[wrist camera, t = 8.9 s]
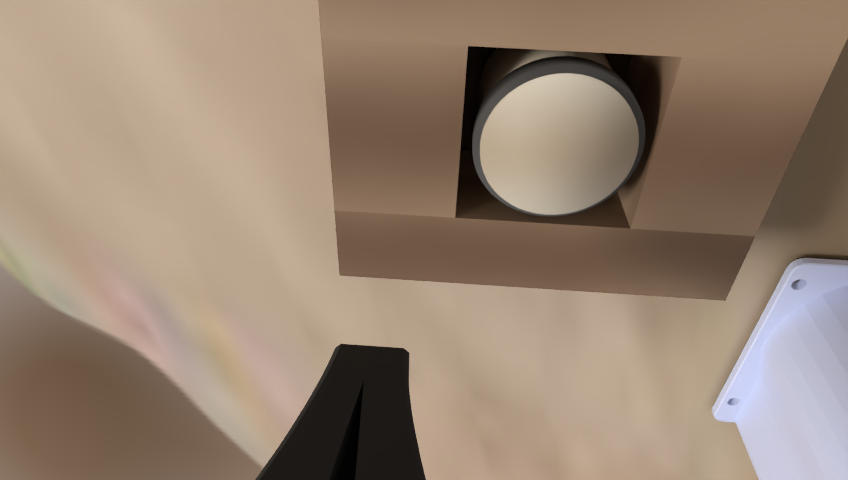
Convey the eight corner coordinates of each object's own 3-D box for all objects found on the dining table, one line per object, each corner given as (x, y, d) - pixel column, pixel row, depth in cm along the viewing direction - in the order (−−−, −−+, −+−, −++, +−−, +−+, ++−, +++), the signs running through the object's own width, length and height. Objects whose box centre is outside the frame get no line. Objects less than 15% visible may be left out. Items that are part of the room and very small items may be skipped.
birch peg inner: (600, 157, 20) (624, 225, 17) (467, 149, 20) (465, 215, 17) (633, 21, 17) (668, 73, 14) (478, 13, 17) (479, 63, 14)
